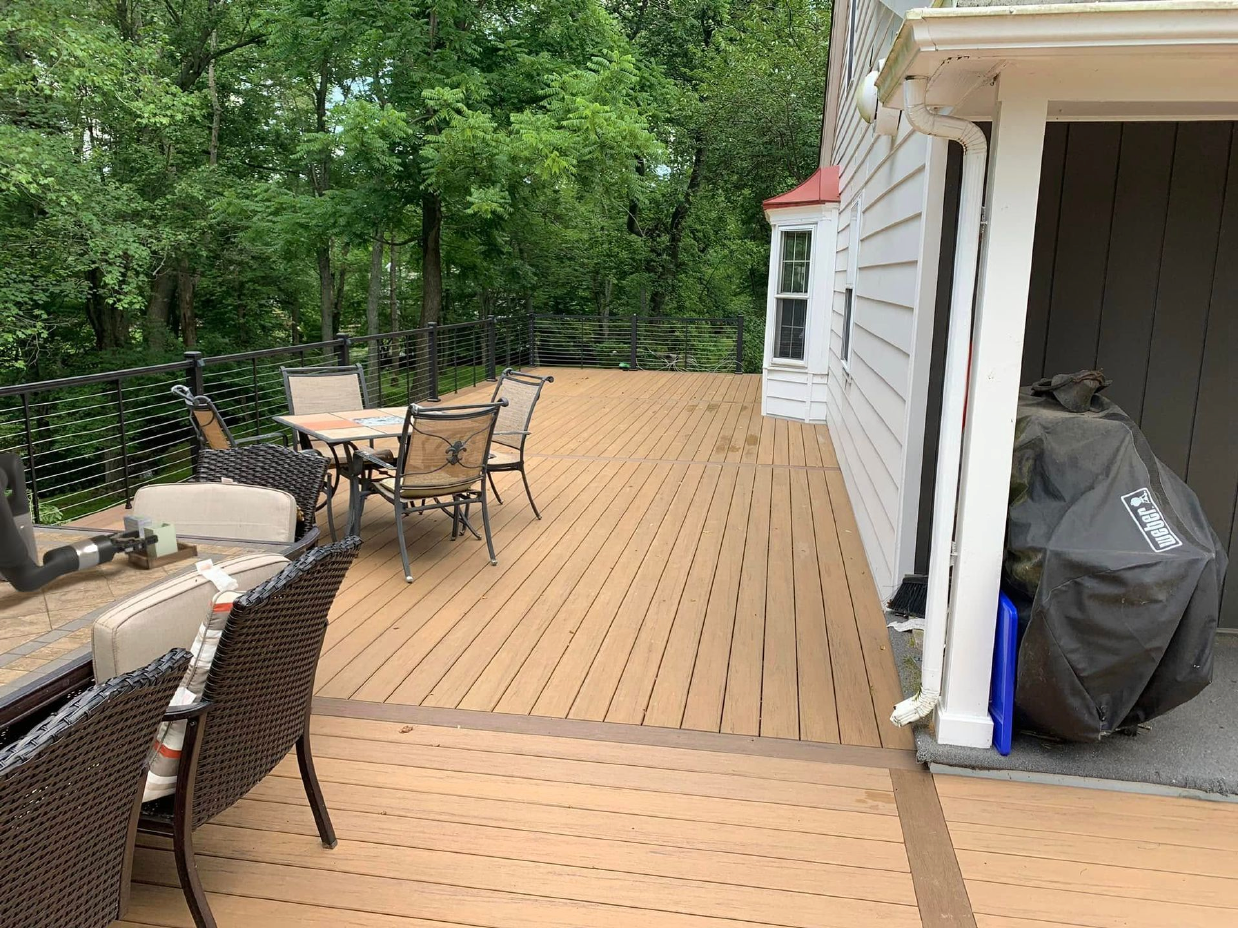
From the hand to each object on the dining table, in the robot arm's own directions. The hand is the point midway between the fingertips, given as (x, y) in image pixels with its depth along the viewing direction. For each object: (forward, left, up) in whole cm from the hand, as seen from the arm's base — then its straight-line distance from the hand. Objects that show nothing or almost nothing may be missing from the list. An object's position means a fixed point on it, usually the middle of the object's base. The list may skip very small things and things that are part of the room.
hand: (147, 535), depth 248 cm
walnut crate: (0, +3, -8) cm, 8 cm away
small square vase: (0, +3, -7) cm, 8 cm away
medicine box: (-19, +6, -8) cm, 21 cm away
